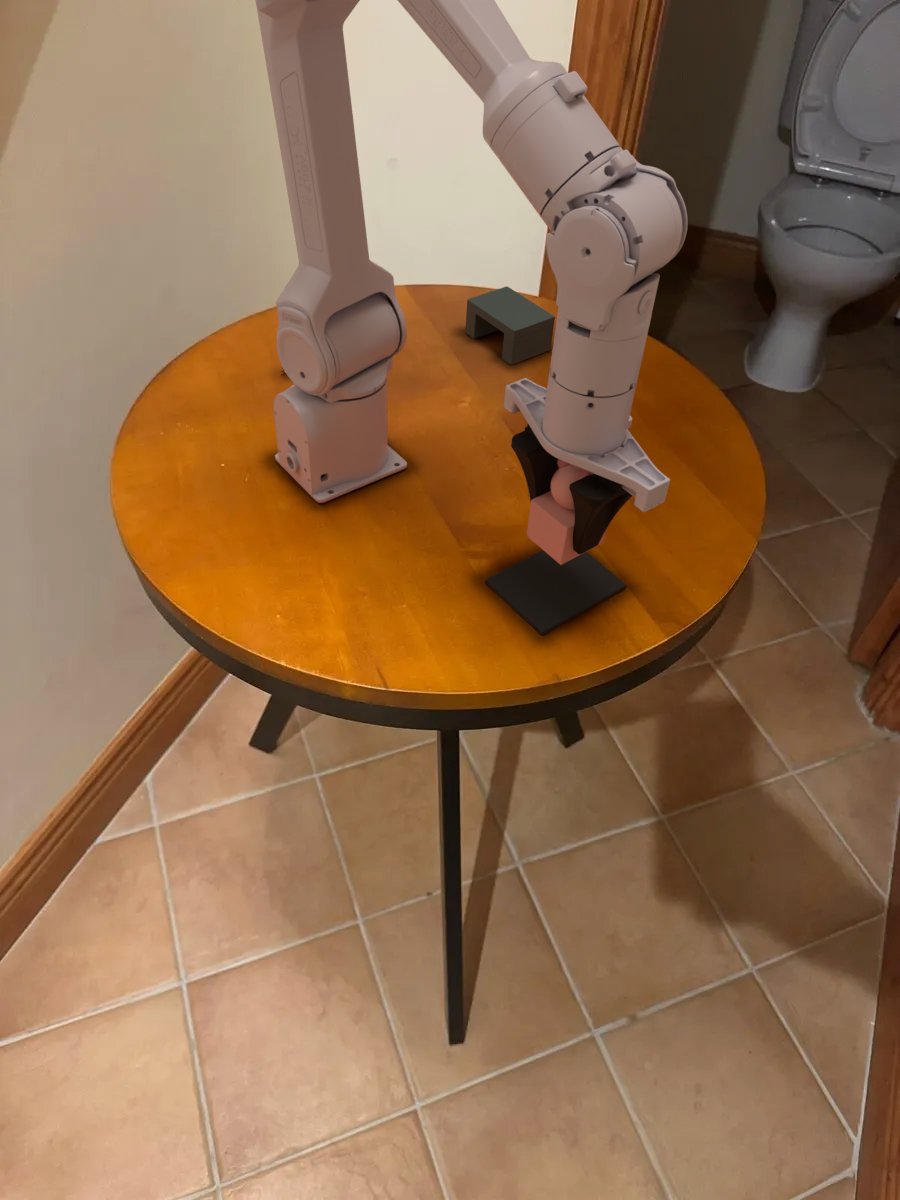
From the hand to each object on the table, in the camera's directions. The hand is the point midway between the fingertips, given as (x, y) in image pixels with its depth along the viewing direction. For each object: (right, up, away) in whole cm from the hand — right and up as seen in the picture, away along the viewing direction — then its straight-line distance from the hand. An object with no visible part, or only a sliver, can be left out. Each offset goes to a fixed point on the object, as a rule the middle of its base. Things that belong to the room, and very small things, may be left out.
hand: (565, 530), depth 68 cm
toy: (0, -1, +1) cm, 1 cm away
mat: (0, -4, +4) cm, 6 cm away
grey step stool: (-2, +23, +31) cm, 38 cm away
